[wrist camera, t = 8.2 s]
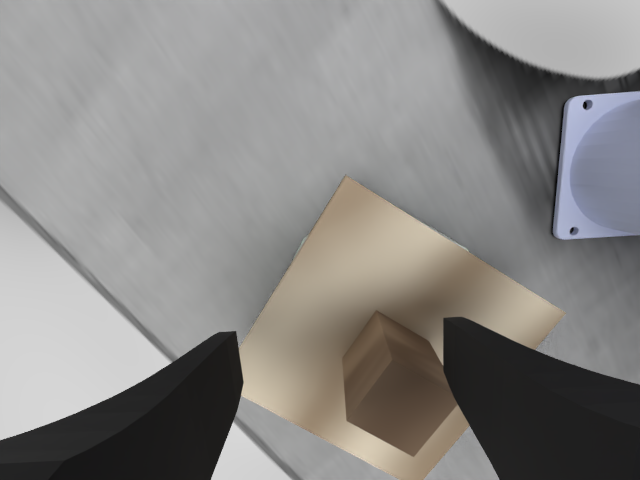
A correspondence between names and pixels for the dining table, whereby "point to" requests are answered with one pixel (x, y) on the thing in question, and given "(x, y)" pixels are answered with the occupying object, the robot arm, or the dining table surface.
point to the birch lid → (378, 332)
